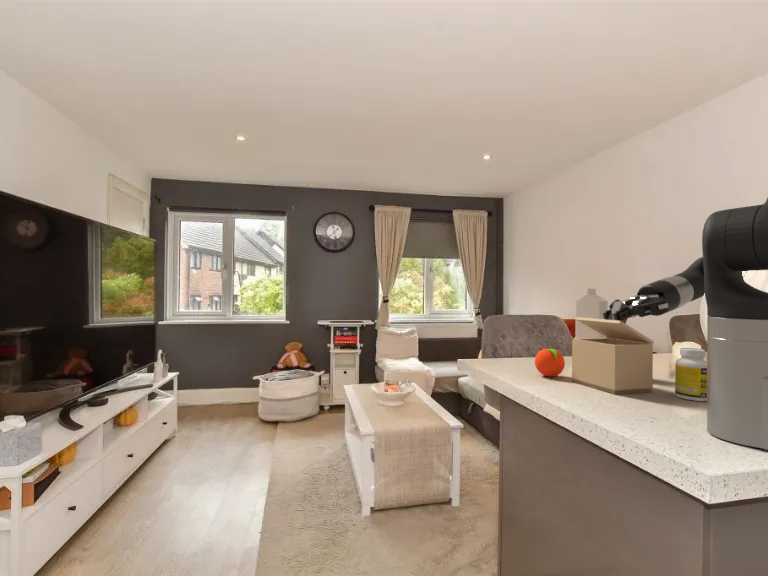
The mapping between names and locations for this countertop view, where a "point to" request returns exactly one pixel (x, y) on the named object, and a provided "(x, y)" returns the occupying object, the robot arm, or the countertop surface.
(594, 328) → the lid
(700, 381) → the supplement bottle
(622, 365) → the carton
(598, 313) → the milk
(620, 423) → the countertop surface
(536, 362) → the clementine
